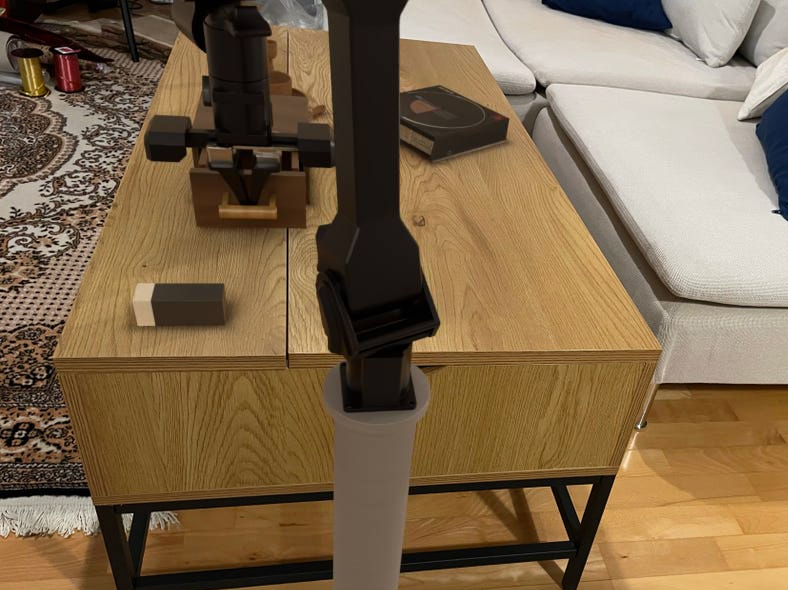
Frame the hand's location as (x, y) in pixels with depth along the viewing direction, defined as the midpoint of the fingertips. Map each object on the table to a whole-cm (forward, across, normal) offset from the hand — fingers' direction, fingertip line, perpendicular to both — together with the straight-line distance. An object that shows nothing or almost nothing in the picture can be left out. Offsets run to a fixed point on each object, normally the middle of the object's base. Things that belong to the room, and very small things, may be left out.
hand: (250, 214), depth 79 cm
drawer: (+3, 0, -7) cm, 7 cm away
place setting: (+4, -3, -47) cm, 47 cm away
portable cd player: (+4, -27, -36) cm, 45 cm away
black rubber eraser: (+4, +6, +14) cm, 16 cm away
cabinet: (+4, 0, -18) cm, 18 cm away
